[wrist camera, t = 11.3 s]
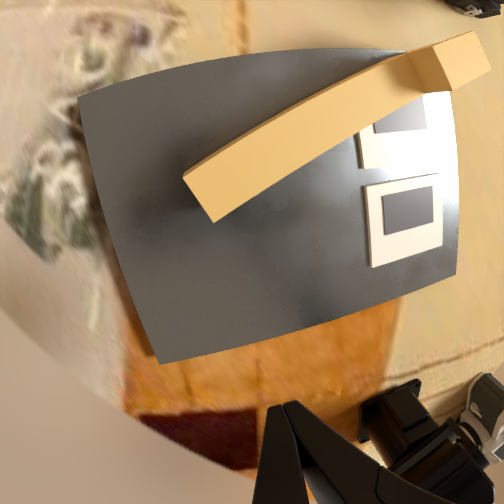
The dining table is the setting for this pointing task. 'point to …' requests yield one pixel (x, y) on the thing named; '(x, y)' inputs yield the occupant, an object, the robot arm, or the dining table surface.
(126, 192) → the chassis plate
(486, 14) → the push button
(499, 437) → the camera
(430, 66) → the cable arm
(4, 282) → the dining table surface
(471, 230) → the dining table surface
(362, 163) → the label tile
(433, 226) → the label tile
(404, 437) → the robot arm
